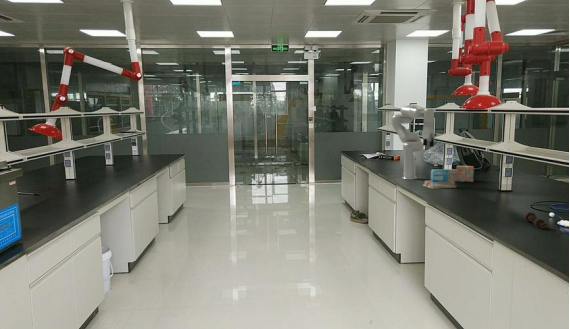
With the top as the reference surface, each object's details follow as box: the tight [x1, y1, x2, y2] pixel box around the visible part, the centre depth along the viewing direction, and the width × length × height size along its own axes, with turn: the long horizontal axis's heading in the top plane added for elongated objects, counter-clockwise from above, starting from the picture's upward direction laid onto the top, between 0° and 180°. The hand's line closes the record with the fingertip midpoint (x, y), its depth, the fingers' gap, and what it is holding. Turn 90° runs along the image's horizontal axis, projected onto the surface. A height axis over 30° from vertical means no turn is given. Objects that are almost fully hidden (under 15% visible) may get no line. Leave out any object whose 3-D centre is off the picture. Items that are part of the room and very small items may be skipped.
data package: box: [430, 168, 448, 183], centre depth 315 cm, size 12×4×12 cm, turn 92°
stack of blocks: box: [444, 165, 475, 183], centre depth 337 cm, size 21×6×12 cm, turn 72°
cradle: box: [422, 179, 457, 190], centre depth 316 cm, size 14×20×4 cm
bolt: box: [523, 211, 548, 229], centre depth 209 cm, size 6×5×15 cm
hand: (428, 146), depth 326 cm, fingers open, 9 cm apart
